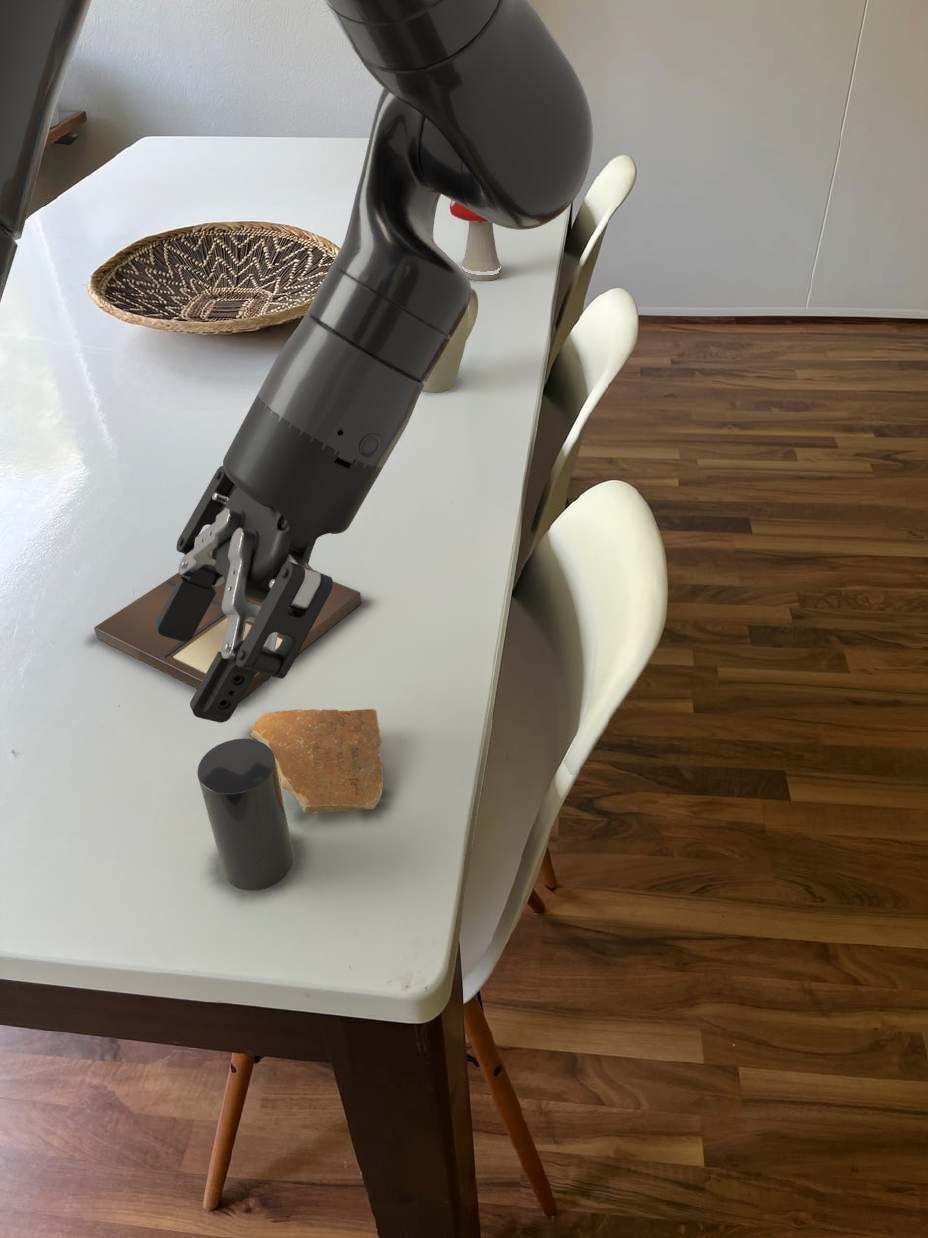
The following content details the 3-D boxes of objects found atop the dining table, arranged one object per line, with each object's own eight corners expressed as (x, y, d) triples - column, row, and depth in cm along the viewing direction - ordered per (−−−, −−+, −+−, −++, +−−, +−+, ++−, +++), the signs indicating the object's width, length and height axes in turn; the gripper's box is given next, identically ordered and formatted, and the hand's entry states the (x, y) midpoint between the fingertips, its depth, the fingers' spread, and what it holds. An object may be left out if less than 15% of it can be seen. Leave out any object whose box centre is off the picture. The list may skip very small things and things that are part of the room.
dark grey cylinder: (260, 902, 62) (237, 805, 57) (208, 870, 64) (180, 773, 59) (308, 853, 65) (290, 756, 60) (257, 824, 67) (235, 728, 62)
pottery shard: (252, 726, 75) (247, 701, 73) (373, 707, 76) (371, 682, 75) (256, 831, 67) (251, 806, 65) (392, 808, 68) (390, 782, 66)
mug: (478, 399, 119) (476, 300, 112) (396, 399, 120) (389, 302, 112) (479, 362, 128) (477, 269, 121) (402, 363, 128) (397, 270, 121)
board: (233, 707, 77) (230, 694, 76) (96, 638, 84) (92, 626, 83) (362, 603, 87) (360, 590, 86) (230, 549, 94) (228, 537, 93)
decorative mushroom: (523, 274, 155) (524, 172, 146) (487, 289, 150) (486, 184, 141) (475, 261, 160) (474, 162, 151) (439, 275, 155) (435, 173, 146)
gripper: (226, 354, 55) (102, 595, 59) (310, 445, 45) (153, 733, 48) (335, 409, 60) (214, 629, 64) (435, 503, 49) (282, 761, 53)
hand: (187, 674), depth 56 cm, fingers open, 8 cm apart
